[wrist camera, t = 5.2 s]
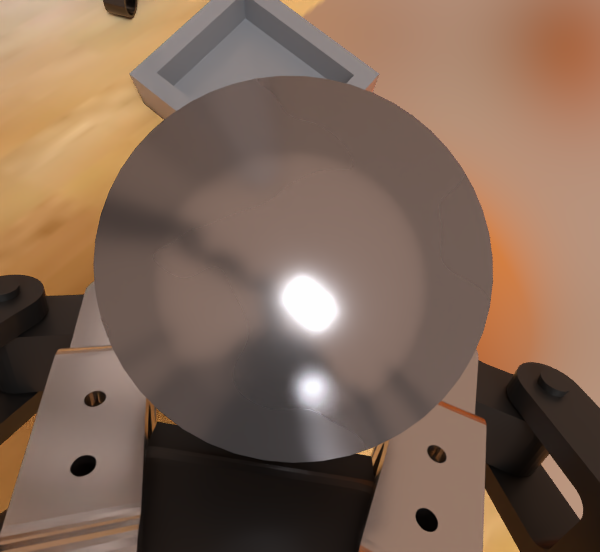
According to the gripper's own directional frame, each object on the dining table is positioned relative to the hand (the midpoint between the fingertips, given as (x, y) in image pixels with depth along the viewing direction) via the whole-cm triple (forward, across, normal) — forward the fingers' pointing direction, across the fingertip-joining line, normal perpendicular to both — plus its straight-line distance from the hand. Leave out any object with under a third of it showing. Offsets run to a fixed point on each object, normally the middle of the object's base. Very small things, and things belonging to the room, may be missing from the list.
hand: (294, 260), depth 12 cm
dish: (+15, +4, -2) cm, 16 cm away
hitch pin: (+3, 0, +5) cm, 6 cm away
